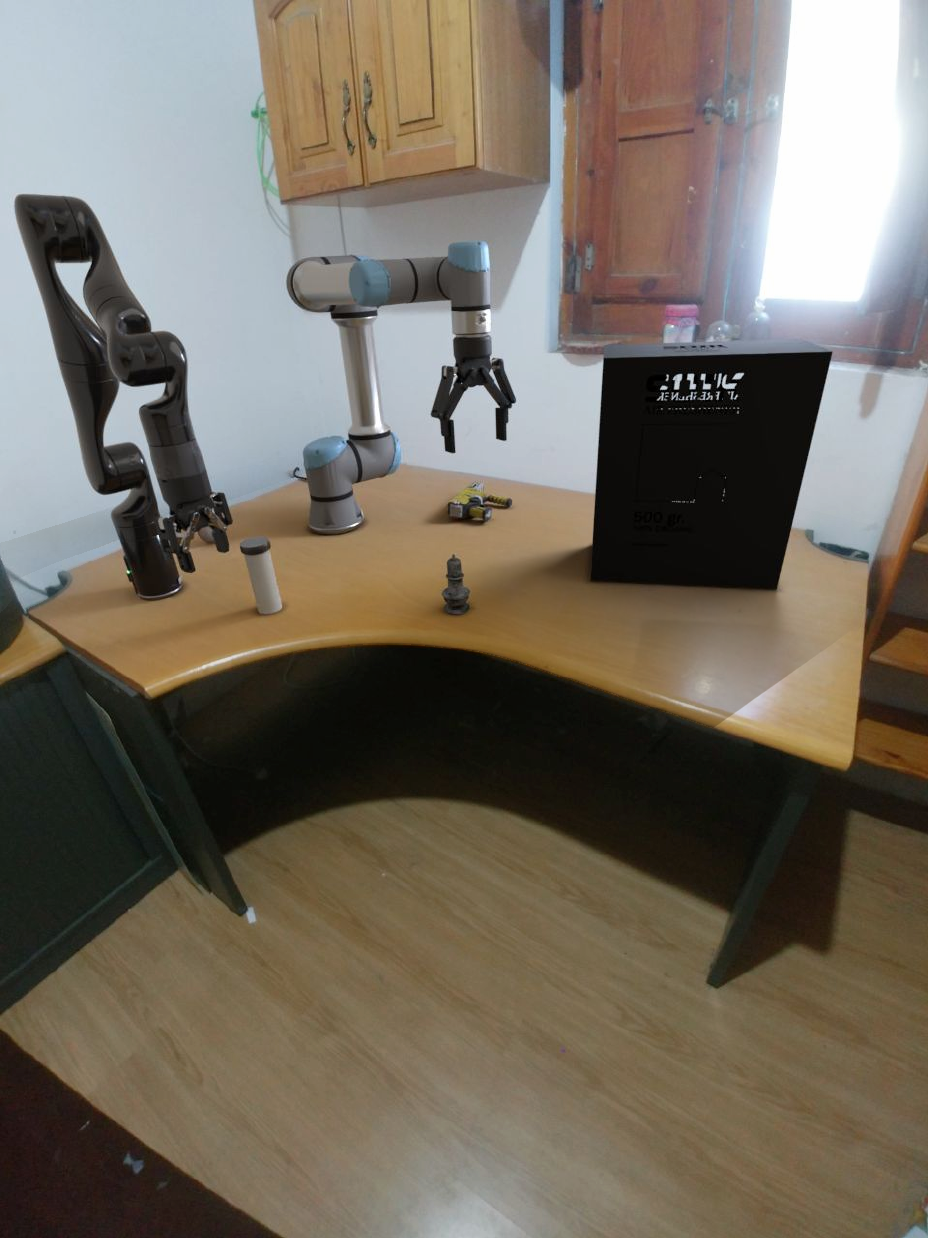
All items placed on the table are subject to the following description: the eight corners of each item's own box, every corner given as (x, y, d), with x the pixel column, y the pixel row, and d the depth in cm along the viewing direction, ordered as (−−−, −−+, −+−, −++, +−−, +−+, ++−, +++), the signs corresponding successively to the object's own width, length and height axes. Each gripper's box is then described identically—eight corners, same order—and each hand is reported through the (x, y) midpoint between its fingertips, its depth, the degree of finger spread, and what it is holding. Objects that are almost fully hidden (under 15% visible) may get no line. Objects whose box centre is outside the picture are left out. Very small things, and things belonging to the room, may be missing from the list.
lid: (235, 554, 120) (233, 547, 119) (250, 543, 124) (248, 535, 124) (261, 556, 118) (259, 548, 118) (275, 544, 123) (274, 536, 122)
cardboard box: (756, 549, 141) (800, 338, 118) (776, 589, 124) (832, 351, 101) (592, 544, 148) (604, 344, 126) (590, 580, 131) (603, 357, 109)
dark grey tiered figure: (468, 615, 121) (465, 561, 115) (439, 614, 122) (435, 559, 116) (473, 601, 126) (471, 548, 120) (446, 600, 127) (442, 547, 121)
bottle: (254, 613, 127) (237, 548, 119) (265, 602, 131) (250, 538, 123) (275, 615, 126) (259, 549, 118) (286, 603, 130) (271, 539, 122)
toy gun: (520, 486, 181) (473, 479, 185) (498, 510, 161) (445, 501, 165) (519, 501, 183) (472, 494, 187) (496, 526, 163) (445, 518, 167)
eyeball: (211, 547, 159) (205, 526, 156) (196, 543, 162) (190, 522, 159) (229, 539, 163) (224, 518, 160) (214, 536, 166) (209, 515, 164)
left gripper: (193, 456, 104) (217, 543, 112) (127, 481, 92) (159, 576, 100) (228, 458, 101) (250, 547, 109) (165, 484, 90) (195, 581, 98)
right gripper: (429, 342, 108) (437, 460, 118) (533, 329, 120) (532, 437, 131) (407, 340, 113) (417, 454, 124) (508, 328, 125) (510, 432, 136)
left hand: (207, 561), depth 105 cm, fingers open, 8 cm apart
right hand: (476, 445), depth 127 cm, fingers open, 13 cm apart
